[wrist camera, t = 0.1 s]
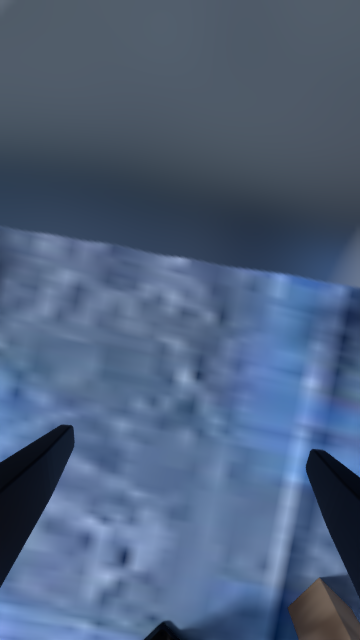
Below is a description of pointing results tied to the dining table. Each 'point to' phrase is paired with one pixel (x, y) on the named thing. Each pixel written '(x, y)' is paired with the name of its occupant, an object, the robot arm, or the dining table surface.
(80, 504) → the dining table surface
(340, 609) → the walnut block
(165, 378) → the dining table surface
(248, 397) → the dining table surface
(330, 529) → the robot arm
